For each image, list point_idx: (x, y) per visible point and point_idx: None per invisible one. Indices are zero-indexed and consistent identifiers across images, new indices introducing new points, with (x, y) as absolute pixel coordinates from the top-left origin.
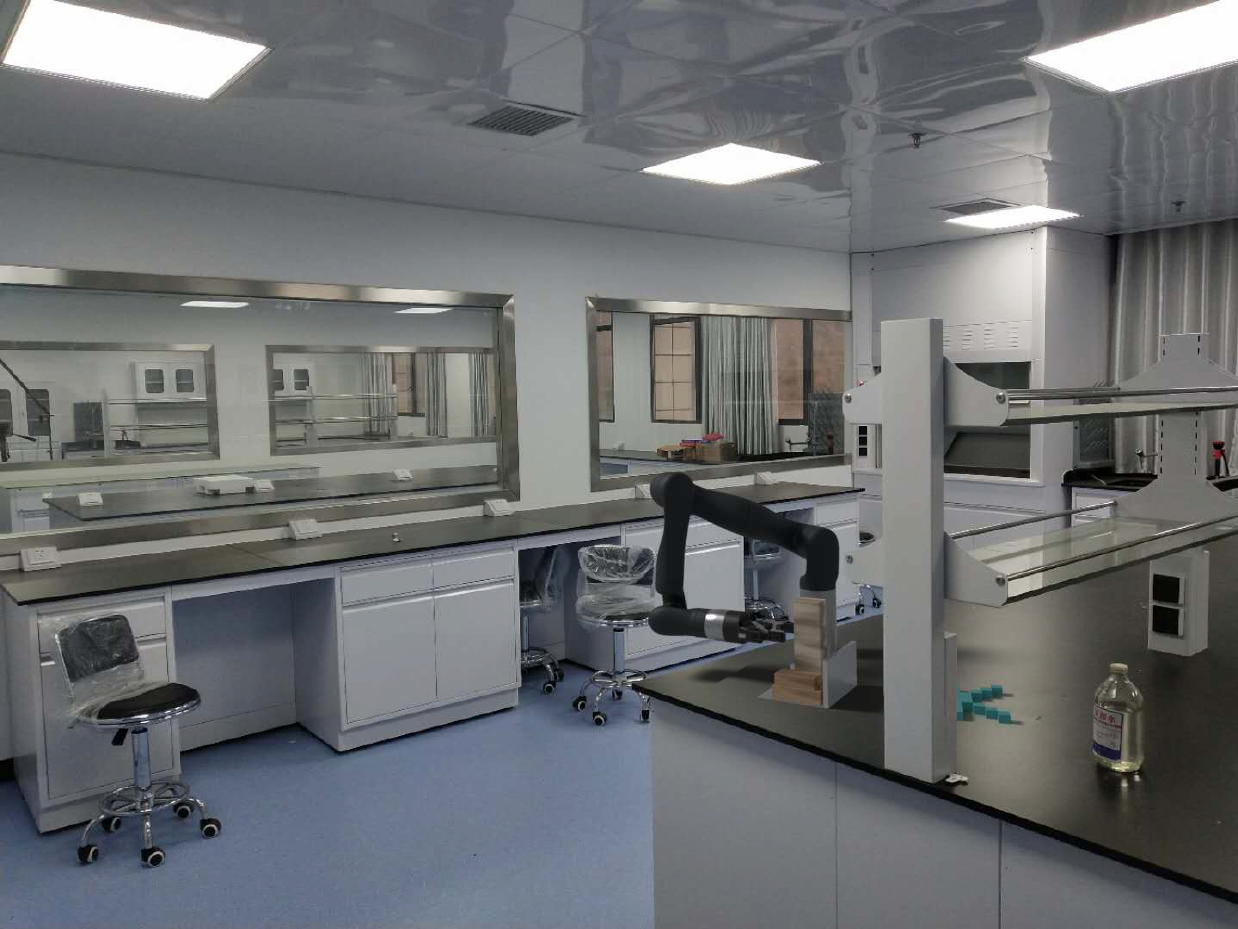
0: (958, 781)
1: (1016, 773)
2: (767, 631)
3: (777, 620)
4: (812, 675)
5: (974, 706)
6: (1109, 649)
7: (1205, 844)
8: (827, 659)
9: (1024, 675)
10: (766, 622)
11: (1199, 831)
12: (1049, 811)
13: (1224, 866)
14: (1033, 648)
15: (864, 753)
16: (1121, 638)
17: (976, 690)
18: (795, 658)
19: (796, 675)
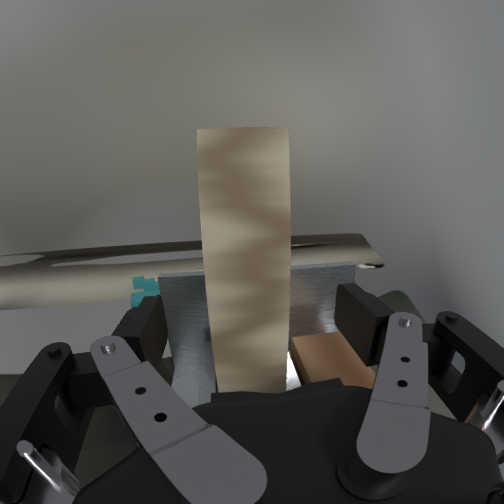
0: (369, 265)
1: (326, 258)
2: (404, 312)
3: (54, 383)
4: (321, 340)
5: None
6: (21, 269)
7: (334, 235)
8: (342, 263)
9: (75, 283)
10: (192, 419)
11: (324, 236)
12: (358, 249)
13: (346, 233)
14: (4, 287)
15: (394, 296)
16: (3, 268)
17: (157, 283)
18: (286, 372)
19: (352, 358)
